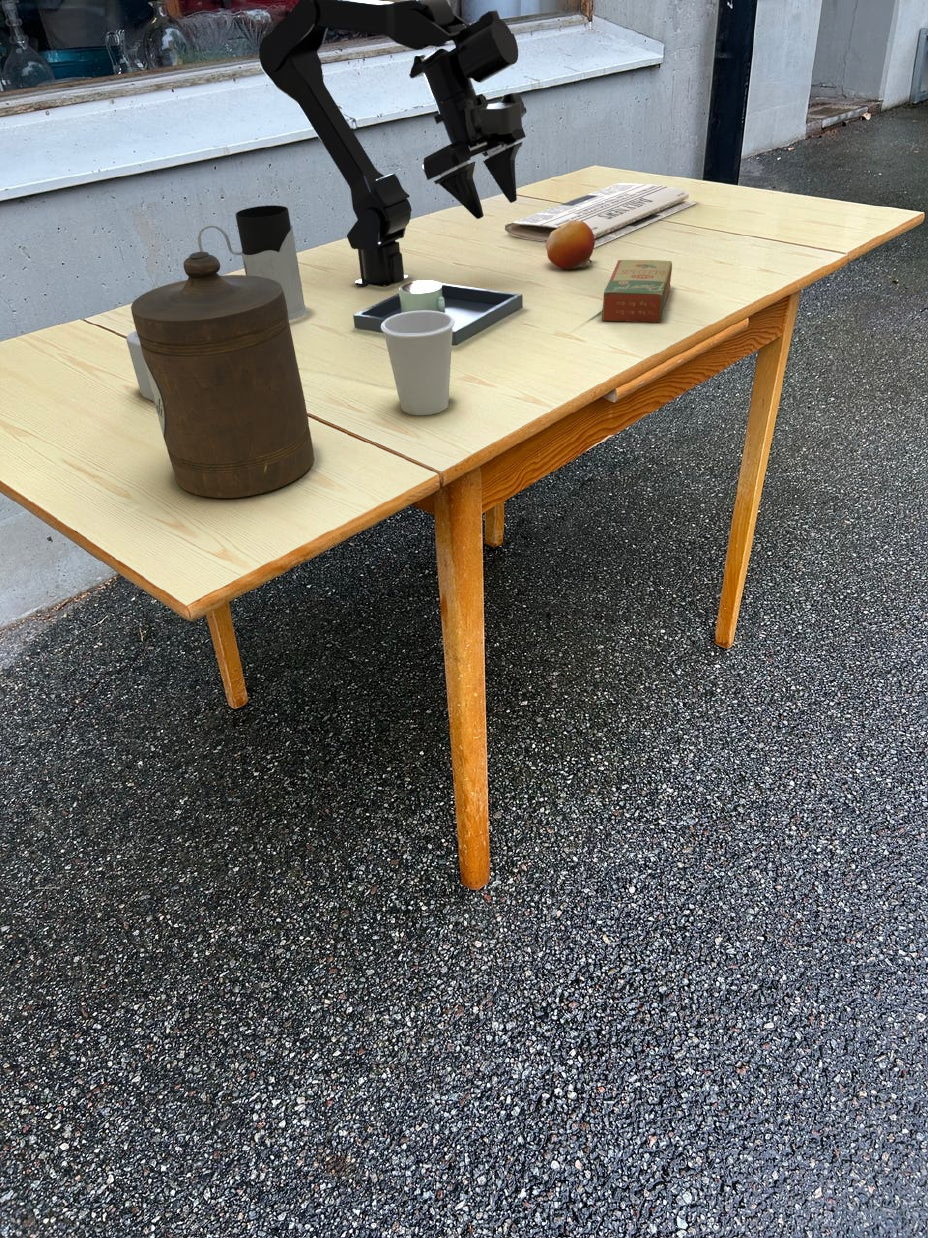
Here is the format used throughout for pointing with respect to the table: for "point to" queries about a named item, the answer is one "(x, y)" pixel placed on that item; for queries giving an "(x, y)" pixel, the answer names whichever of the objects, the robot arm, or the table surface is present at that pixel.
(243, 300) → the wooden container
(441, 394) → the dixie cup
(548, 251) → the fruit
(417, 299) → the teacup
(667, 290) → the carton
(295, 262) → the glass holder
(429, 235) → the table surface
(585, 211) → the newspaper
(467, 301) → the tray
